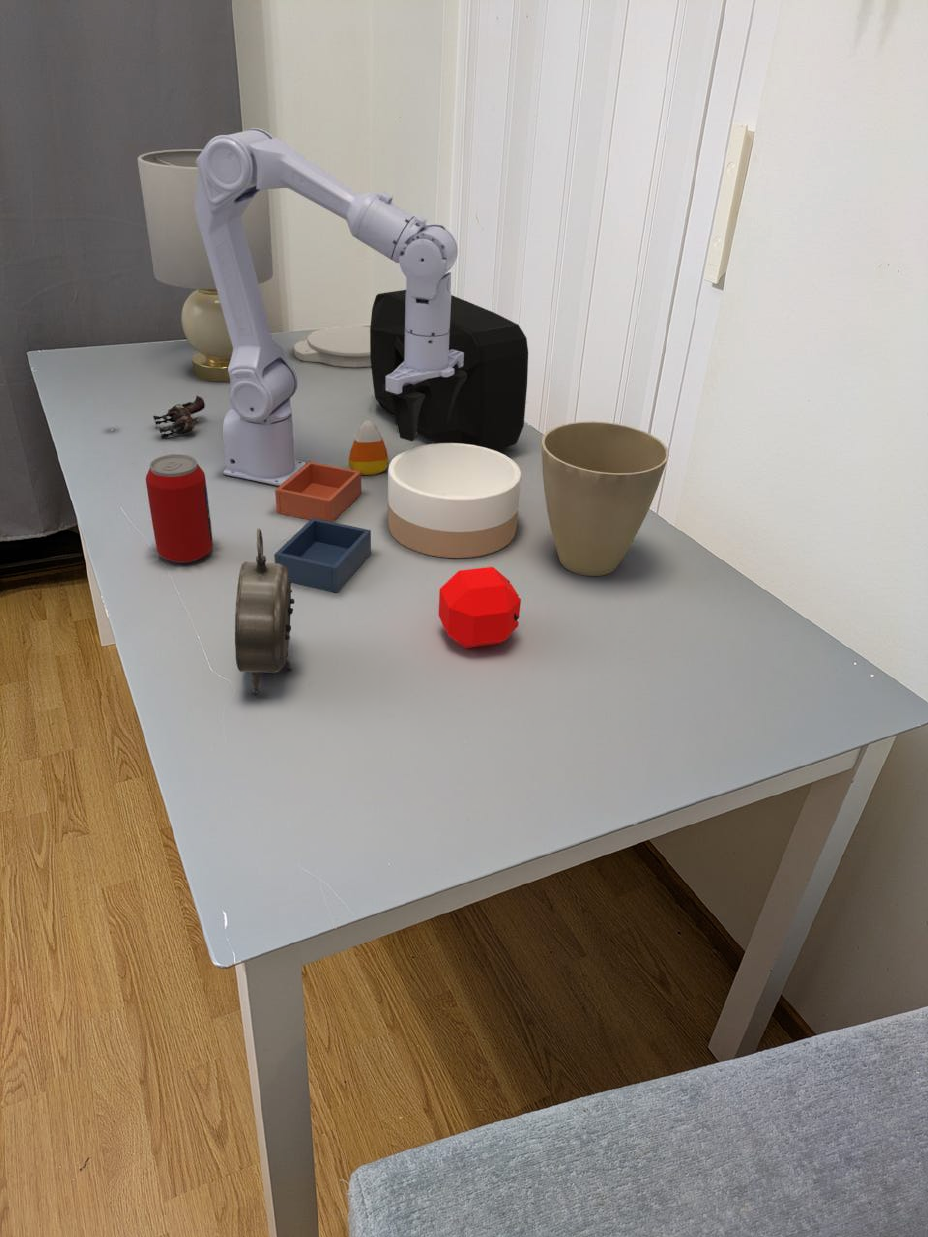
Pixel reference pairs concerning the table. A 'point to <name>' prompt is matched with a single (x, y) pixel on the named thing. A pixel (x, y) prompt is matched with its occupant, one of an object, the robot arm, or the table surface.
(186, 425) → the horse figurine
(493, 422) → the black hard case
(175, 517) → the beverage can
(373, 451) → the candy corn
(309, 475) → the terracotta bin
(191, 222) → the lamp
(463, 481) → the bowl
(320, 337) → the lid
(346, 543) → the slate bin
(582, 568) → the plant pot
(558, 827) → the table surface
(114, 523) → the table surface
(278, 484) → the robot arm
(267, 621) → the alarm clock
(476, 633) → the ball
